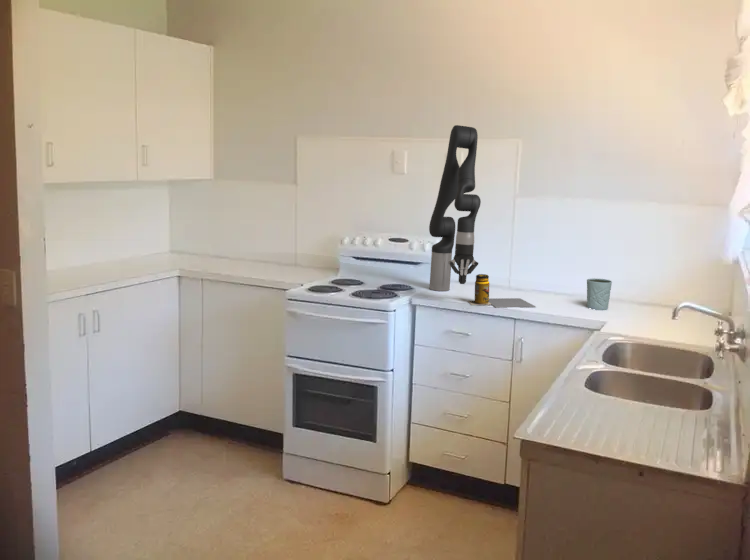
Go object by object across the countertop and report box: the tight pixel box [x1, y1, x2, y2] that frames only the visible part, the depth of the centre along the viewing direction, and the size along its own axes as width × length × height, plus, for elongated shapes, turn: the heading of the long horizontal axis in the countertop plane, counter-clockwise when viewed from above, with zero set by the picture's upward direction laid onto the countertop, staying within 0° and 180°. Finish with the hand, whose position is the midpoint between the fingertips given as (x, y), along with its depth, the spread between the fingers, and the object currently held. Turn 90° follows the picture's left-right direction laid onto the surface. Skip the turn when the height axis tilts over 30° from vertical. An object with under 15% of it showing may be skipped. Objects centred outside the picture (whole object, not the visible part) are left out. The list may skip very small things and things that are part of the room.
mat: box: [489, 297, 537, 309], centre depth 323 cm, size 16×18×1 cm
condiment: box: [467, 273, 491, 306], centre depth 319 cm, size 7×8×12 cm
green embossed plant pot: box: [586, 277, 613, 311], centre depth 320 cm, size 10×10×12 cm
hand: (462, 283), depth 316 cm, fingers closed
